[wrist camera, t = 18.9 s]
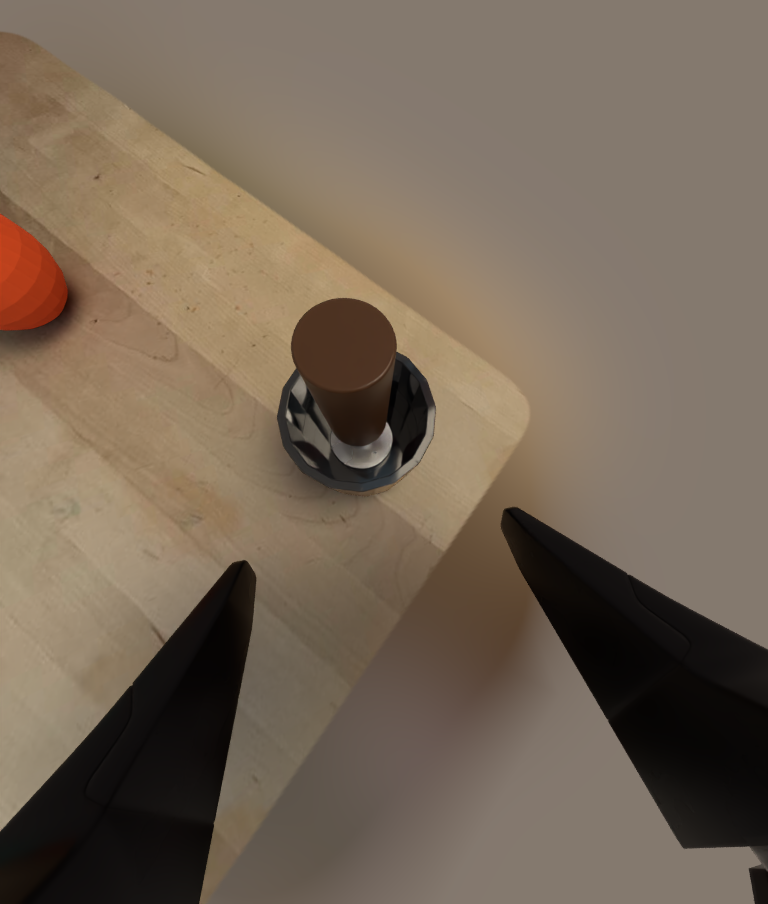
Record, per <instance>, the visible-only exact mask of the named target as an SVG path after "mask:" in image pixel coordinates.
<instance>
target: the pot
mask: <svg viewBox="0 0 768 904" xmlns="http://www.w3.org/2000/svg"><path fill="white" fill-rule="evenodd" d="M435 414H436V406H435V403H434V400H433V397H432V394H431V391H430V388H429V385H428V382H427V380H426V378H425V377H424V376H423V375H422V374H421V372H420V371H419V370H418V369H417V368H416V367H415V365H414V364H413V363H412V362H411V361H410V360H409V358H407V357H406V356H404V355H402V354H400V353H398V352H396V358H395V365H394V372H393V379H392V386H391V393H390V400H389V407H388V414H387V421H388V423H389V425H390V427H391V429H392V433H393V445H392V449H391V452H390V454H389V456H388V458H387V459H386V461H385V462H384V463H383V464H382V465H380V466H379V467H377V468H376V469H373V470H370V471H365V472H359V471H354V470H351V469H349V468H347V467H345V466H344V465H342V464H341V463H340V462H339V460H338V459H337V458H336V457H335V455H334V453H333V451H332V449H331V445H330V433H331V428H330V427H329V425H328V423H327V421H326V419H325V418H324V416H323V414H322V412H321V411H320V409H319V407H318V405H317V403H316V402H315V400H314V398H313V396H312V395H311V393H310V391H309V389H308V387H307V386H306V384H305V382H304V380H303V379H302V377H301V375H300V373H299V371H298V370H297V368H296V370H295V371H294V372H293V374H292V375H291V377H290V378H289V380H288V381H287V383H286V384H285V386H284V387H283V390H282V394H281V399H280V404H279V409H278V414H277V420H278V425H279V430H280V434H281V439H282V443H283V447H284V449H285V450H286V451H287V453H288V454H289V455H290V457H291V458H292V459H293V461H294V462H295V464H296V465H297V466H298V468H299V469H300V470H301V471H302V472H303V473H304V474H306V475H308V476H309V477H311V478H313V479H315V480H316V481H318V482H320V483H322V484H323V485H325V486H327V487H328V488H331V489H333V490H336V491H338V492H341V493H343V494H348V495H355V496H364V497H366V496H371V495H375V494H379V493H382V492H385V491H387V490H389V489H391V488H392V487H393V486H394V485H396V484H397V483H398V482H399V481H401V480H402V479H403V478H404V477H405V476H406V475H407V474H409V473H410V472H411V471H412V470H413V469H414V468H415V467H416V466H417V465H418V464H419V463H420V461H421V459H422V457H423V455H424V453H425V452H426V450H427V448H428V446H429V444H430V442H431V441H432V439H433V436H434V425H435Z"/></svg>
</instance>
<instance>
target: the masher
mask: <svg viewBox="0 0 768 904" xmlns="http://www.w3.org/2000/svg"><path fill="white" fill-rule="evenodd" d="M396 349H397V343H396V337H395V333H394V330H393V328H392V326H391V324H390V322H389V321H388V320H387V318H386V317H385V316H384V315H383V314H382V313H381V312H380V311H379V310H378V309H377V308H375V307H374V306H372V305H370V304H368V303H366V302H363V301H360V300H356V299H350V298H338V299H331V300H328V301H325V302H322V303H320V304H318V305H316V306H314V307H313V308H311V309H310V310H309V311H307V312H306V313H305V314H304V315H303V317H302V318H301V319H300V320H299V322H298V323H297V325H296V327H295V330H294V333H293V336H292V342H291V352H292V358H293V361H294V364H295V366H296V368H297V370H298V371H299V373H300V375H301V377H302V379H303V380H304V382H305V384H306V386H307V387H308V389H309V391H310V393H311V395H312V396H313V398H314V400H315V402H316V403H317V405H318V407H319V409H320V411H321V412H322V414H323V416H324V418H325V419H326V421H327V423H328V425H329V427H330V428H331V433H330V445H331V449H332V451H333V453H334V455H335V457H336V458H337V459H338V460H339V462H340V463H341V464H342V465H344V466H345V467H347V468H349V469H351V470H354V471H359V472H365V471H370V470H373V469H376V468H377V467H379V466H380V465H382V464H383V463H384V462H385V461H386V459H387V458H388V456H389V454H390V452H391V449H392V445H393V433H392V429H391V427H390V425H389V423H388V421H387V414H388V407H389V400H390V393H391V386H392V379H393V372H394V365H395V358H396Z"/></svg>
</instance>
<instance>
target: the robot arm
mask: <svg viewBox="0 0 768 904" xmlns="http://www.w3.org/2000/svg"><path fill="white" fill-rule="evenodd" d="M501 529H502V532H503V534H504V536H505V538H506V540H507V543H508V545H509V547H510V549H511V552H512V554H513V556H514V558H515V560H516V563H517V565H518V567H519V569H520V571H521V573H522V574H523V576H524V578H525V580H526V581H527V583H528V585H529V586H530V588H531V590H532V592H533V593H534V595H535V597H536V598H537V600H538V602H539V604H540V605H541V607H542V609H543V610H544V612H545V614H546V616H547V617H548V619H549V621H550V622H551V624H552V626H553V628H554V629H555V631H556V633H557V634H558V636H559V638H560V639H561V641H562V643H563V645H564V646H565V648H566V650H567V652H568V653H569V655H570V657H571V658H572V660H573V662H574V664H575V665H576V667H577V669H578V670H579V672H580V674H581V675H582V677H583V679H584V681H585V682H586V684H587V686H588V687H589V689H590V691H591V692H592V694H593V696H594V698H595V699H596V701H597V703H598V705H599V706H600V708H601V710H602V711H603V713H604V715H605V717H606V718H607V719H608V722H609V724H610V725H611V727H612V729H613V731H614V732H615V734H616V736H617V737H618V739H619V741H620V742H621V744H622V746H623V748H624V749H625V751H626V753H627V754H628V756H629V758H630V760H631V761H632V763H633V764H634V766H635V768H636V770H637V772H638V773H639V775H640V777H641V778H642V780H643V782H644V783H645V785H646V787H647V788H648V790H649V792H650V794H651V795H652V797H653V799H654V801H655V802H656V804H657V806H658V807H659V809H660V811H661V813H662V814H663V816H664V818H665V819H666V821H667V823H668V825H669V826H670V828H671V830H672V831H673V833H674V835H675V836H676V838H677V840H678V841H679V842H680V844H681V846H682V847H683V848H685V849H687V848H716V847H745V846H749V847H750V848H751V849H752V851H753V852H754V853H755V855H756V856H757V857H758V859H759V860H760V862H761V863H762V864H761V865H759V866H755V867H752V868H749V872H750V878H751V883H752V890H753V895H754V901H755V904H768V649H766V648H764V647H762V646H760V645H758V644H756V643H754V642H752V641H750V640H748V639H746V638H744V637H742V636H741V635H739V634H737V633H735V632H733V631H731V630H729V629H727V628H725V627H723V626H721V625H720V624H718V623H716V622H714V621H712V620H710V619H708V618H706V617H704V616H702V615H700V614H698V613H697V612H695V611H693V610H691V609H689V608H687V607H685V606H684V605H682V604H680V603H678V602H676V601H674V600H672V599H670V598H669V597H667V596H665V595H663V594H662V593H660V592H658V591H656V590H655V589H653V588H651V587H650V586H648V585H646V584H644V583H643V582H641V581H639V580H638V579H636V578H634V577H633V576H631V575H627V573H626V572H624V571H623V570H621V569H619V568H617V567H616V566H614V565H613V564H611V563H609V562H607V561H606V560H604V559H603V558H601V557H599V556H598V555H596V554H594V553H593V552H591V551H589V550H587V549H586V548H584V547H582V546H581V545H579V544H578V543H576V542H574V541H572V540H571V539H569V538H568V537H566V536H564V535H563V534H561V533H559V532H557V531H556V530H554V529H552V528H551V527H549V526H548V525H546V524H544V523H543V522H541V521H539V520H538V519H536V518H534V517H532V516H531V515H529V514H527V513H526V512H524V511H522V510H521V509H519V508H517V507H510V508H506V509H504V511H503V515H502V520H501ZM255 590H256V575H255V572H254V571H253V569H252V568H251V566H250V565H249V563H248V562H247V561H246V560H242V561H237V562H234V563H232V564H231V565H230V566H229V567H228V568H227V570H226V571H225V572H224V573H223V574H222V576H221V577H220V578H219V579H218V581H217V582H216V583H215V584H214V585H213V587H212V588H211V589H210V590H209V591H208V593H207V594H206V595H205V596H204V597H203V599H202V600H201V601H200V602H199V603H198V605H197V606H196V607H195V608H194V609H193V611H192V612H191V613H190V614H189V616H188V617H187V618H186V619H185V620H184V622H183V623H182V624H181V625H180V626H179V628H178V629H177V630H176V631H175V632H174V634H173V635H172V636H171V637H170V638H169V640H168V641H167V642H166V643H165V644H164V646H163V647H162V648H161V649H160V651H159V652H158V653H157V654H156V655H155V657H154V658H153V659H152V660H151V661H150V663H149V664H148V665H147V666H146V667H145V669H144V670H143V671H142V672H141V673H140V675H139V676H138V677H137V678H136V679H135V681H134V682H133V686H130V687H129V688H128V689H127V690H126V691H125V693H124V694H123V695H122V696H121V697H120V699H119V700H118V701H117V702H116V703H115V705H114V706H113V707H112V708H111V709H110V710H109V712H108V713H107V714H106V715H105V716H104V718H103V719H102V720H101V721H100V722H99V723H98V725H97V726H96V727H95V728H94V729H93V730H92V731H91V733H90V734H89V735H88V736H87V737H86V738H85V739H84V740H83V741H82V743H81V744H80V745H79V746H78V747H77V748H76V749H75V750H74V752H73V753H72V754H71V755H70V756H69V757H68V758H67V759H66V760H65V762H64V763H63V764H62V765H61V766H60V767H59V768H58V769H57V770H56V771H55V772H54V773H53V775H52V776H51V777H50V778H49V779H48V780H47V781H46V782H45V783H44V784H43V785H42V787H41V788H40V789H39V790H38V791H37V792H36V793H35V794H34V795H33V796H32V797H31V799H30V800H29V801H28V802H27V803H26V804H25V805H24V806H23V807H22V808H21V809H20V811H19V812H18V813H17V814H16V815H15V816H14V817H13V818H12V819H11V820H10V821H9V823H8V824H7V825H6V826H5V827H4V828H3V829H2V830H1V831H0V904H199V901H200V896H201V890H202V885H203V880H204V875H205V870H206V865H207V860H208V854H209V849H210V844H211V839H212V834H213V829H214V821H215V817H216V812H217V807H218V802H219V797H220V791H221V786H222V781H223V776H224V771H225V766H226V760H227V755H228V750H229V745H230V740H231V735H232V730H233V724H234V719H235V714H236V709H237V704H238V699H239V693H240V688H241V683H242V678H243V673H244V668H245V662H246V657H247V652H248V647H249V642H250V637H251V631H252V623H253V613H254V601H255Z"/></svg>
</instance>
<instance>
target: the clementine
mask: <svg viewBox="0 0 768 904" xmlns="http://www.w3.org/2000/svg"><path fill="white" fill-rule="evenodd" d="M67 293H68V290H67V286H66V283H65V279H64V276H63V272H62V270H61V269H60V268H59V266H58V265H57V263H56V262H55V260H54V259H53V257H52V256H51V255H50V253H49V252H48V250H47V249H46V248H45V247H44V246H43V245H42V244H41V243H39V242H38V241H37V240H36V239H35V238H34V237H33V236H32V235H31V234H29V233H28V232H27V231H25V230H24V229H22V228H21V227H20V226H18V225H17V224H15V223H14V222H12V221H11V220H9V219H8V218H6V217H4V216H3V215H1V214H0V330H26V329H33V328H36V327H39V326H42V325H44V324H47V323H49V322H50V321H52V320H54V319H55V318H56V317H57V316H58V315H60V313H61V312H62V310H63V308H64V306H65V303H66V300H67Z"/></svg>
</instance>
